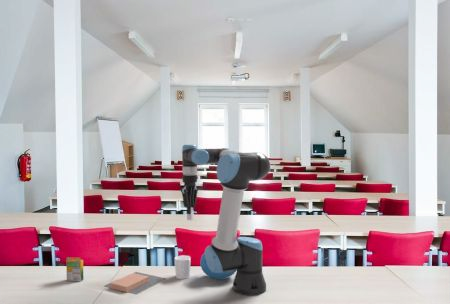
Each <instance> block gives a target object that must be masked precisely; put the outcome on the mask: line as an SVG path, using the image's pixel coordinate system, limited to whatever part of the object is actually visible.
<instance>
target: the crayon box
mask: <svg viewBox="0 0 450 304" xmlns="http://www.w3.org/2000/svg"><path fill="white" fill-rule="evenodd" d="M65 262H66V264H65V265H66V282H82V281H83V280H84V259H81V257H69V256H67V257H66V260H65Z"/></svg>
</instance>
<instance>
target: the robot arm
mask: <svg viewBox="0 0 450 304" xmlns="http://www.w3.org/2000/svg"><path fill="white" fill-rule="evenodd" d="M181 150H182V151H181V157H182V158H181V159H182V174H183V175H182V182H183V184H184V185H183V188H181V189H180V192H181V195H182V200H183V207H184V208H186V220H187V221H193V220H194V208H196V205H197V199H198V198H197V197H198V191H199V186H197V184H196V183H197V182H198V175H197V174H198V165H209V164H210V165H212V164H214V165H215V164H216V178H217V179H218V181H219V182H220V185H221V187H222V188H223V189H222V196H221V202H220V208H219V215H218V221H217V228H216V236H214V237H212V239H211V245H208V246H206V248H205V249H204V253H205V259H206V262H207V265H208V267H209V269H210V270H211V271H212V272H213V273H219V272H221V273H222V272H225V271H230V270H235V269H237V270H236V272H235V276H234V280H233V283H232V290H233V291H234V292H235V293H238V294H239V295H245V296H256V295H261V294H263V293H265V292H266V290H267V283H266V280H265V277H264V274H263V243H262V241H261V240H260V239H258V238H254V237H250V236H248V237H247V236H238V237H237V234H238V229H239V228H238V227H239V223H240V216H241V209H242V203H243V198H244V192H245V191H246V190H247V189H248V188H249V184H250V182H254V181H259V180H262V179H263V178H265V177H267V175H268V174H269V173H270V170H271V162H270V159H269V158H268V156H266V155H265V154H264V153H261V152H241V151H235V150H232V149H231V148H227V147H226V148H198V147H197V144H183V145H182V148H181Z"/></svg>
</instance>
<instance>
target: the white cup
mask: <svg viewBox="0 0 450 304" xmlns="http://www.w3.org/2000/svg"><path fill="white" fill-rule="evenodd" d="M191 258H192V257H191V256H190V255H185V254H183V255H177V256H175V257H174V269H175V271H174V272H175V278H176V279H178V280H187V279H189V278H190V277H191V262H192V261H191Z"/></svg>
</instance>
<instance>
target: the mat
mask: <svg viewBox="0 0 450 304" xmlns="http://www.w3.org/2000/svg"><path fill="white" fill-rule="evenodd" d="M133 273H135V274H140V275H144V276H149V282H147V283H145V284H143V285H141V286H139V287H137V288H135V289H133V290H131V291H129V292H127V293H129V294H132V295H133V294H134V295H138V294H141V293H142V292H144V291H146V290H148V289H150V288H151V287H154V286H156V285H158V284H159V283H161V282H164V281H165V280H167V279H168V278H166V277H161V276H157V275H153V274H148V273H142V272H138V271H135V272H133ZM110 283H111V282H109V283H107V284H105V285H104V287H105V288H109V289H111V288H110Z"/></svg>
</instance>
